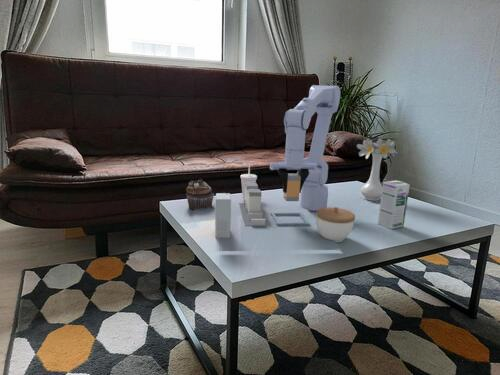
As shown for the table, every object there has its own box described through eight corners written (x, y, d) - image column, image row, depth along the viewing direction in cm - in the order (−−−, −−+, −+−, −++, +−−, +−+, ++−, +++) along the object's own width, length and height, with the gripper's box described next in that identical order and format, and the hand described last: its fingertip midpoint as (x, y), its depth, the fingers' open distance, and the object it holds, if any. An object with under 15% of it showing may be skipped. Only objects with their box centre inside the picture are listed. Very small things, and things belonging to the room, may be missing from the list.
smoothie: (256, 198, 136) (258, 163, 133) (255, 203, 130) (257, 166, 126) (240, 197, 137) (241, 162, 133) (238, 201, 131) (239, 165, 127)
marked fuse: (295, 197, 112) (297, 173, 110) (298, 201, 108) (300, 176, 106) (283, 197, 111) (285, 173, 109) (286, 201, 107) (288, 176, 105)
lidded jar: (328, 248, 94) (332, 215, 91) (307, 233, 103) (309, 203, 101) (359, 243, 98) (364, 211, 95) (336, 229, 107) (339, 200, 105)
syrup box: (391, 229, 109) (398, 185, 105) (376, 223, 114) (383, 180, 110) (403, 227, 111) (410, 183, 108) (389, 221, 116) (395, 179, 113)
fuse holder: (260, 205, 128) (260, 198, 127) (270, 228, 106) (271, 219, 105) (238, 205, 127) (239, 197, 126) (245, 228, 105) (245, 220, 104)
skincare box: (215, 232, 101) (215, 192, 98) (229, 232, 102) (230, 193, 98) (214, 240, 95) (215, 199, 92) (230, 240, 96) (231, 199, 93)
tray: (300, 216, 117) (301, 212, 117) (309, 227, 107) (309, 223, 107) (271, 216, 116) (271, 212, 116) (276, 228, 106) (277, 223, 106)
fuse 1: (255, 204, 126) (256, 183, 124) (257, 207, 122) (258, 186, 120) (244, 204, 125) (245, 183, 123) (245, 207, 121) (246, 185, 119)
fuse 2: (258, 211, 118) (259, 189, 116) (260, 215, 114) (261, 192, 112) (247, 211, 118) (247, 189, 115) (248, 215, 114) (249, 192, 112)
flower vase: (365, 191, 153) (372, 134, 147) (399, 203, 137) (409, 140, 131) (342, 194, 147) (349, 135, 141) (375, 206, 131) (384, 141, 125)
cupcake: (198, 213, 116) (198, 185, 113) (180, 206, 122) (180, 179, 120) (219, 207, 123) (219, 180, 120) (201, 201, 129) (201, 175, 127)
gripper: (273, 150, 101) (271, 195, 104) (321, 152, 103) (317, 195, 106) (269, 147, 108) (267, 189, 111) (314, 148, 109) (311, 189, 113)
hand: (291, 192), depth 109 cm, fingers closed on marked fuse, 4 cm apart
